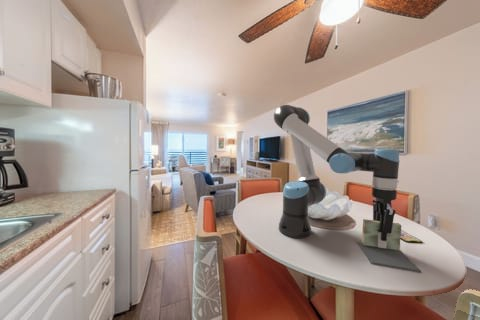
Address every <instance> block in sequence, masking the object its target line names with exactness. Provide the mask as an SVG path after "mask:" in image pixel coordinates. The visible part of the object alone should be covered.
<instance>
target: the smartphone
mask: <svg viewBox="0 0 480 320" xmlns="http://www.w3.org/2000/svg"><path fill="white" fill-rule="evenodd" d="M400 241H403V242H405V243H406V244H407V243H408V244H423V240H421V239H419V238H418V237H415V236H413V235H412V234H410V233H408V232H406V231H404V230H402V229H401V237H400Z"/></svg>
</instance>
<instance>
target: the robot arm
mask: <svg viewBox="0 0 480 320" xmlns="http://www.w3.org/2000/svg"><path fill="white" fill-rule="evenodd" d="M274 111H275V112H274V114H273V121H274V123H275V124H276V125H277V126H278V127H279V128H281V129H282V130H283V131H285V132H286V134H287V135H289V136H290V140H291V141H290V142H291V146H292V149H293V150H292V151H293V155H294V159H295V165H296V169H297V174H298V178H297V179H296V181H290V182H289V181H288V182H287V183H285V184H284V186H283V191H282V195H283V197H282V198H283V199H282V215H281V218H280V220H279V223H278V231H279V232H280V233H281V234H283V235H285V236H288V237H290V238H296V239H304V238H308V237H310V236H311V234H312V226H311V224H310V220H309V207H312V206H314V205H318V204H319V203H321V202H323V201H324V199H325V198H326V195H327V189H326V187H325V185H324V184H323V183H322V182H321V179H320V177H319V176H318V175H316V171H315V167H314V161H313V157H312V153H311V151H313V152H314V153H315V154H316V155H318V156H319V157H320V158H322V159H323V160H324V161H325V162H327V164H328V165H329V167H330V169H331V170H332V171H333V172H334V173H336V174H348V173H352V172H372V173H373V174H372V182H371V183H372V184H371V185H372V188H371V196H372V197H374V198H375V199H373V200H372V206H373V207H372V220H375V221H380V230H378V245H377V247H379V248H386V247H387V233H390V234H391V231H392V225H393V223H394V217H395V214H396V213H397V212H396V210H395V209H392V201H396V199H397V193H398V191H397V188H398V183H399V179H398V178H399V177H398V176H399V169H400V167H399V166H400V151H399V150H398V149H397V148H376V149H374V152H373V153H364V152H348V151H346V150H345V149H343V148H341V146H339V145H338V144H336V143H335V142H334V141H332V140H330V139H329V138H328V137H326V136H325V135H323V134H322V133H320V132H319V131H318V130H316V129H314V128H313V127H312V126H310V125H309V123H310V122H311V121H310V120H311V116H310V114H309V111H307V110H305V109H304V108H302V107H300V106H299V107H298V106H297V107H296V106H293V105H290V104H282V105H280V106H278V107H277V108H276V110H274Z"/></svg>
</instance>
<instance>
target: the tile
mask: <svg viewBox="0 0 480 320" xmlns="http://www.w3.org/2000/svg"><path fill="white" fill-rule="evenodd" d="M378 230H380V221H375V220H373V219H366V218H365V219H362V233H361V242H362V244H363V245H367V246H374V247H377V245H378ZM401 230H402V224H400V223H398V222H393V225H392V231H391V234H390V233H387V247H386V248H387V249H394V250H399V249H400V247H401V239H400V237H401ZM400 250H401V249H400Z"/></svg>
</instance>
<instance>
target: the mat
mask: <svg viewBox="0 0 480 320" xmlns="http://www.w3.org/2000/svg"><path fill="white" fill-rule="evenodd" d="M357 244H358V246H359V247H360V249H361V251H362V252H363V253H364V256H366V258H367V260H368V261H369V262H370V265H371V264H372V265H377V266H382V267H387V268H388V267H389V268H393V269H400V270H405V271H412V272H418V273H422V270H421V269H420V268H419V267H418V266H417V265H416V263H414V262H413V261H412V260H411V259H410V258H409V257H408V256H407V254H405V253H404V252H403V251H402V250H401V249H399V250H394V249H387V248H379V247H374V246H367V245H363V244H362V241H361V242H360V241H358V242H357Z"/></svg>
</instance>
